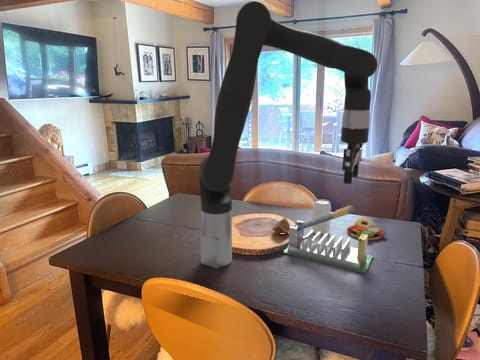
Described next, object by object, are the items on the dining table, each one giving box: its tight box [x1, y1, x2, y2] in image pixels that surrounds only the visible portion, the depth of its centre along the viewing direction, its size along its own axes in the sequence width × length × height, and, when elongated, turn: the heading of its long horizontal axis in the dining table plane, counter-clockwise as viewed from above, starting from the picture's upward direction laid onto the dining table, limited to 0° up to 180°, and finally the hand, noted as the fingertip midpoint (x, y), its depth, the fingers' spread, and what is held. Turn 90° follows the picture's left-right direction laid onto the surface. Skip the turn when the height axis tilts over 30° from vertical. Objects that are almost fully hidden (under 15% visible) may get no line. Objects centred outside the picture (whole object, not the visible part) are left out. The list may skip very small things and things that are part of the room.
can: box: [311, 198, 332, 236], centre depth 131 cm, size 6×6×12 cm
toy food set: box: [346, 218, 387, 241], centre depth 131 cm, size 13×13×3 cm
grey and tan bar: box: [293, 204, 355, 231], centre depth 113 cm, size 21×4×2 cm, turn 59°
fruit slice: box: [271, 217, 291, 234], centre depth 131 cm, size 8×7×5 cm
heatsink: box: [282, 220, 374, 275], centre depth 114 cm, size 26×12×9 cm, turn 60°
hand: (350, 180), depth 106 cm, fingers open, 8 cm apart
